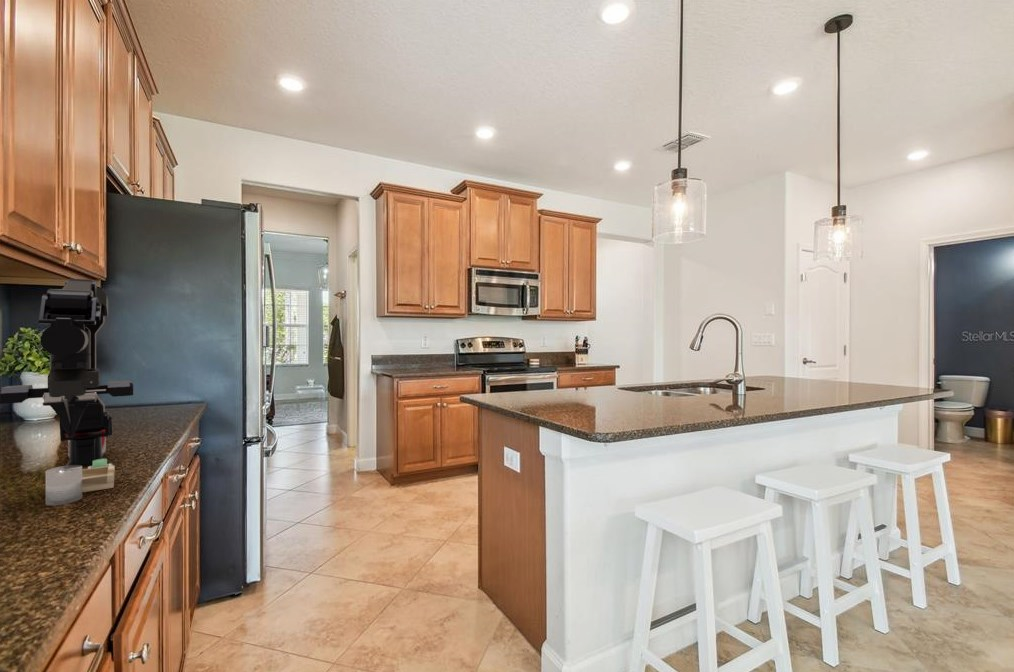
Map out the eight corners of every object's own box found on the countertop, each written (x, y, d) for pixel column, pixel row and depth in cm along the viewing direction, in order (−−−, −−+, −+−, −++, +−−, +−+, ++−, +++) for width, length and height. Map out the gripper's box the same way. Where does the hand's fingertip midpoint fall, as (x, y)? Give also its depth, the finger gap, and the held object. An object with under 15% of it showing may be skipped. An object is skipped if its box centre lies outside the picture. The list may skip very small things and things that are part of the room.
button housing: (88, 474, 103) (88, 466, 103) (112, 471, 105) (112, 463, 105) (87, 479, 99) (87, 471, 99) (111, 475, 102) (111, 467, 102)
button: (92, 473, 102) (92, 459, 102) (107, 471, 104) (107, 458, 104) (92, 476, 101) (92, 462, 101) (106, 474, 102) (106, 460, 102)
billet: (47, 499, 88) (47, 468, 88) (83, 493, 91) (83, 463, 91) (43, 507, 84) (43, 474, 84) (81, 501, 87) (81, 469, 87)
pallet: (57, 484, 96) (57, 472, 96) (114, 476, 102) (114, 465, 102) (51, 497, 89) (51, 484, 89) (113, 487, 95) (113, 475, 95)
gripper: (-11, 357, 77) (-11, 451, 77) (133, 354, 89) (133, 436, 89) (3, 356, 86) (3, 440, 86) (132, 353, 98) (132, 427, 98)
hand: (70, 436), depth 89 cm, fingers closed
